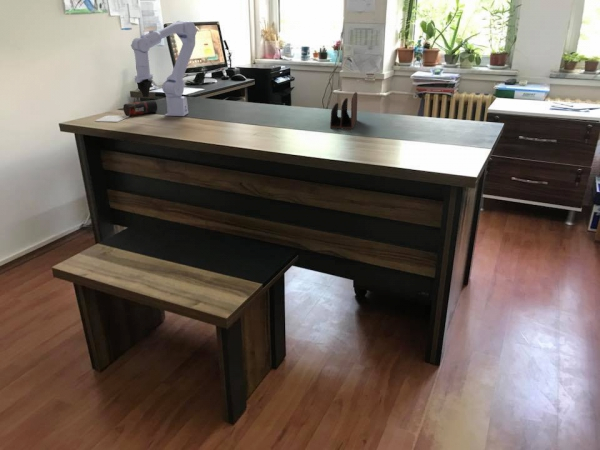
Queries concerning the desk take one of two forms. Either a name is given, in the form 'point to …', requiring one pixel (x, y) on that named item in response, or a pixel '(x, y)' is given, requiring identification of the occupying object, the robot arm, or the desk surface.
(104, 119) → the mat
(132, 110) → the deodorant
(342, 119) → the letter holder
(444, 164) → the desk surface
